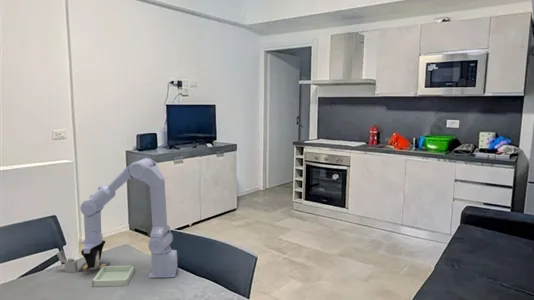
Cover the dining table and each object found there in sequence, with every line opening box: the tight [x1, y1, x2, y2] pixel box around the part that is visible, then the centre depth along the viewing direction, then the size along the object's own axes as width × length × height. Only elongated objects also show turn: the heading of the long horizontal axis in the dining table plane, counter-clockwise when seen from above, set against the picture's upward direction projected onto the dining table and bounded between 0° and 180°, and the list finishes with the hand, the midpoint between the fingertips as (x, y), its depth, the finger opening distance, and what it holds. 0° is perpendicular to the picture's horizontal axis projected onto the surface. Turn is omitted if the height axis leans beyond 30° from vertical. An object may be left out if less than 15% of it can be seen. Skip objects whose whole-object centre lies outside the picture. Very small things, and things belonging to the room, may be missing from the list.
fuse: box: [89, 251, 100, 270], centre depth 141 cm, size 4×4×6 cm
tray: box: [91, 265, 136, 288], centre depth 134 cm, size 12×12×2 cm
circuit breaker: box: [56, 250, 79, 274], centre depth 138 cm, size 7×2×8 cm, turn 84°
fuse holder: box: [77, 261, 111, 273], centre depth 142 cm, size 10×6×1 cm, turn 96°
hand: (94, 263), depth 142 cm, fingers open, 6 cm apart
